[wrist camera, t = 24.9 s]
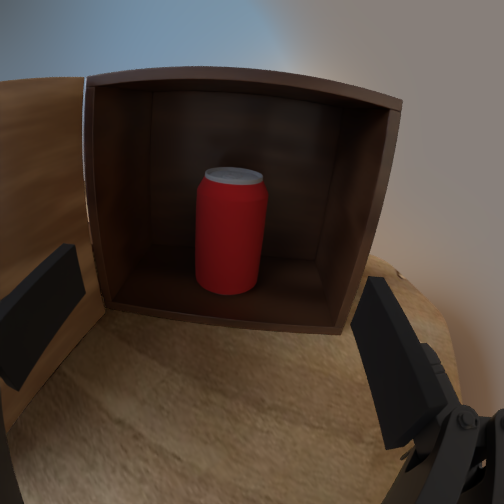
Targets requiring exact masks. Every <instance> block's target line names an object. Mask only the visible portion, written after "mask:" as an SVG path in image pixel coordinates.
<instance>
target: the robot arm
mask: <svg viewBox="0 0 504 504" xmlns="http://www.w3.org/2000/svg"><path fill="white" fill-rule="evenodd" d="M85 294H86V291H85V287H84V283H83V279H82V274H81V270H80V266H79V261H78V256H77V251H76V246H75V245H74V244H66V243H63V244H62V245H61V246H59V247H58V248H57V249H56V250H55V251H54V252H53V253H51V254H50V255H49V256H48V257H47V258H46V259H45V260H44V261H43V262H41V263H40V264H39V265H38V266H37V267H36V268H35V269H34V270H33V271H32V272H31V273H30V274H29V275H28V276H27V277H26V278H25V279H24V280H22V281H21V282H20V283H19V284H18V285H17V286H16V287H15V288H14V289H13V291H12V292H11V293H10V294H8V295H7V296H5V297H4V298H2V299H1V300H0V377H1V378H2V379H3V381H4V382H5V384H6V385H7V386H9V387H11V388H12V389H14V390H16V391H18V392H19V391H20V389H21V387H22V386H23V384H24V382H25V381H26V379H27V377H28V376H29V374H30V372H31V371H32V369H33V368H34V366H35V365H36V363H37V361H38V360H39V358H40V357H41V355H42V354H43V352H44V351H45V349H46V348H47V346H48V345H49V343H50V342H51V340H52V339H53V337H54V336H55V335H56V333H57V332H58V330H59V329H60V328H61V326H62V325H63V323H64V322H65V321H66V319H67V318H68V316H69V315H70V314H71V312H72V311H73V310H74V308H75V307H76V306H77V304H78V303H79V302H80V301H81V299H82V298H83V297H84V295H85ZM350 325H351V328H352V331H353V334H354V337H355V340H356V343H357V346H358V350H359V353H360V356H361V359H362V363H363V366H364V369H365V373H366V376H367V379H368V383H369V386H370V390H371V394H372V397H373V401H374V405H375V408H376V412H377V416H378V420H379V424H380V428H381V432H382V436H383V440H384V445H385V449H386V450H389V449H394V448H399V447H404V446H405V445H406V444H408V443H409V442H410V441H411V440H412V439H413V440H414V444H415V446H414V447H412V448H411V449H410V450H409V451H408V452H406V453H405V454H404V455H403V456H402V457H401V458H400V460H403V459H405V458H406V457H407V456H408V457H407V459H406V461H405V463H404V465H403V467H402V469H401V470H400V472H399V474H398V476H397V478H396V480H395V481H394V483H393V485H392V487H391V488H390V490H389V492H388V493H387V495H386V497H385V498H384V500H383V501H382V503H381V504H504V409H500V410H499V411H498V412H497V413H496V414H495V415H494V416H493V417H480V416H478V414H477V413H476V412H475V410H474V409H472V408H471V407H469V406H466V405H461V404H460V402H459V400H458V397H457V395H456V393H455V391H454V389H453V386H452V384H451V382H450V380H449V378H448V376H447V374H446V373H445V370H444V368H443V366H442V365H441V362H440V360H439V358H438V356H437V354H436V352H435V351H434V350H433V349H432V348H431V347H430V346H429V345H428V344H427V343H420V342H419V340H418V338H417V336H416V334H415V332H414V330H413V328H412V326H411V324H410V323H409V321H408V319H407V317H406V315H405V314H404V312H403V310H402V308H401V306H400V305H399V303H398V301H397V299H396V298H395V296H394V294H393V292H392V291H391V289H390V287H389V286H388V284H387V282H386V281H385V279H384V277H372V276H368V279H367V282H366V284H365V287H364V290H363V293H362V296H361V298H360V301H359V304H358V306H357V309H356V312H355V314H354V317H353V319H352V322H351V324H350ZM485 459H486V466H485V467H482V461H484V460H485ZM0 504H24V501H23V499H22V496H21V493H20V490H19V486H18V483H17V480H16V476H15V473H14V469H13V465H12V461H11V457H10V452H9V447H8V442H7V437H6V431H5V425H4V418H3V410H2V400H1V388H0Z"/></svg>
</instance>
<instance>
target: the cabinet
mask: <svg viewBox="0 0 504 504" xmlns="http://www.w3.org/2000/svg"><path fill="white" fill-rule="evenodd" d="M402 103H403V101H402V100H401V99H398V98H395V97H392V96H389V95H386V94H382V93H379V92H376V91H372V90H368V89H365V88H361V87H357V86H353V85H349V84H345V83H341V82H336V81H331V80H327V79H322V78H317V77H311V76H306V75H300V74H293V73H286V72H278V71H271V70H261V69H250V68H235V67H213V66H210V67H209V66H183V67H160V68H146V69H136V70H126V71H118V72H111V73H104V74H98V75H93V76H88V77H86V89H85V100H84V164H85V165H84V166H85V183H86V195H87V205H88V214H89V222H90V230H91V237H92V243H93V249H94V255H95V261H96V266H97V271H98V276H99V281H100V286H101V290H102V295H103V299H104V303H105V307H106V308H110V309H115V310H121V311H126V312H131V313H137V314H142V315H148V316H154V317H160V318H167V319H173V320H180V321H187V322H194V323H201V324H209V325H217V326H226V327H235V328H245V329H255V330H266V331H279V332H293V333H309V334H330V335H341V332H342V330H343V327H344V324H345V322H346V319H347V317H348V314H349V311H350V309H351V306H352V303H353V300H354V298H355V295H356V292H357V289H358V286H359V283H360V280H361V278H362V275H363V271H364V268H365V265H366V262H367V259H368V256H369V253H370V249H371V246H372V242H373V239H374V236H375V232H376V229H377V225H378V221H379V218H380V214H381V210H382V206H383V202H384V198H385V194H386V190H387V186H388V181H389V176H390V172H391V167H392V163H393V158H394V152H395V147H396V142H397V136H398V129H399V124H400V117H401V110H402ZM218 167H234V168H243V169H249V170H253V171H256V172H259V173H261V174H262V175H263V181H264V184H265V186H266V189H267V191H268V203H267V211H266V219H265V227H264V235H263V243H262V250H261V257H260V264H259V271H258V277H257V282H256V284H255V286H254V287H253V288H251V289H250V290H248V291H246V292H244V293H240V294H236V295H220V294H216V293H213V292H210V291H208V290H206V289H204V288H203V287H202V286H201V285H200V284H199V283H198V282H197V280H196V276H195V230H196V200H197V188H198V186H199V184H200V183H201V181H202V179H203V178H204V176H205V172H206V170H208V169H211V168H218Z"/></svg>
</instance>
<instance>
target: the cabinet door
mask: <svg viewBox="0 0 504 504" xmlns="http://www.w3.org/2000/svg"><path fill="white" fill-rule="evenodd" d="M83 86H84V77H49V78H48V77H46V78H30V79H18V80H8V81H1V82H0V300H1V299H2V298H4V297H5V296H7V295H8V294H10V293H11V292H12V291H13V289H14V288H15V287H16V286H17V285H18V284H19V283H20V282H21V281H22V280H24V279H25V278H26V277H27V276H28V275H29V274H30V273H31V272H32V271H33V270H34V269H35V268H36V267H37V266H38V265H39V264H40V263H41V262H43V261H44V260H45V259H46V258H47V257H48V256H49V255H50V254H51V253H53V252H54V251H55V250H56V249H57V248H58V247H59V246H61V245H62V244H63V243H66V244H74V245H75V246H76V251H77V256H78V261H79V266H80V270H81V274H82V279H83V283H84V287H85V291H86V294H85V295H84V297H83V298H82V299H81V301H80V302H79V303H78V304H77V306H76V307H75V308H74V310H73V311H72V312H71V314H70V315H69V316H68V318H67V319H66V321H65V322H64V323H63V325H62V326H61V328H60V329H59V330H58V332H57V333H56V335H55V336H54V337H53V339H52V340H51V342H50V343H49V345H48V346H47V348H46V349H45V351H44V352H43V354H42V355H41V357H40V358H39V360H38V361H37V363H36V365H35V366H34V368H33V369H32V371H31V372H30V374H29V376H28V377H27V379H26V381H25V382H24V384H23V386H22V387H21V389H20V391H19V392H18V391H16V390H14V389H12V388H11V387H9V386H7V385H6V384H5V382H4V381H3V379H2V378H1V377H0V388H1V400H2V410H3V418H4V425H5V431H6V434H7V433H8V431H9V430H10V428H11V427H12V426H13V424H14V423H15V421H16V420H17V419H18V417H19V416H20V415H21V413H22V412H23V410H24V409H25V408H26V406H27V405H28V404H29V403H30V401H31V400H32V399H33V397H34V396H35V395H36V393H37V392H38V391H39V390H40V388H41V387H42V386H43V385H44V383H45V382H46V381H47V380H48V378H49V377H50V376H51V375H52V373H53V372H54V371H55V370H56V369H57V367H58V366H59V365H60V364H61V363H62V361H63V360H64V359H65V358H66V357H67V355H68V354H69V353H70V352H71V351H72V350H73V348H74V347H75V346H76V345H77V344H78V343H79V341H80V340H81V339H82V338H83V337H84V336H85V335H86V333H87V332H88V331H89V330H90V329H91V328H92V327H93V326H94V324H95V323H96V322H97V321H98V320H99V319H100V318H101V317H102V316H103V315H104V313H105V309H104V305H103V300H102V296H101V292H100V288H99V283H98V278H97V274H96V269H95V263H94V258H93V252H92V247H91V240H90V234H89V227H88V219H87V211H86V202H85V191H84V178H83V160H82V106H83Z"/></svg>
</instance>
